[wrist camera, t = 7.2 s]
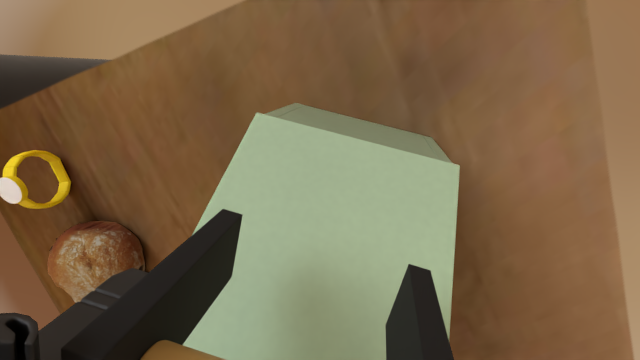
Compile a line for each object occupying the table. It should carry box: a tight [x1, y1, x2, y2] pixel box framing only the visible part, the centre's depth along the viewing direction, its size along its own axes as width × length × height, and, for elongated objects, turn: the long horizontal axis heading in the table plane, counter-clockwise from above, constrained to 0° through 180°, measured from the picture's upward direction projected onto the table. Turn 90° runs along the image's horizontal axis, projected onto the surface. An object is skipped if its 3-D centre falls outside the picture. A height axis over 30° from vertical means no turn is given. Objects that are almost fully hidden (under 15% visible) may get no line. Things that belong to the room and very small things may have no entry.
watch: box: [0, 150, 71, 209], centre depth 35 cm, size 6×3×6 cm, turn 11°
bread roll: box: [47, 221, 145, 303], centre depth 38 cm, size 10×10×8 cm
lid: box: [140, 113, 460, 360], centre depth 13 cm, size 17×13×8 cm
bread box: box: [265, 103, 452, 163], centre depth 29 cm, size 16×13×10 cm
